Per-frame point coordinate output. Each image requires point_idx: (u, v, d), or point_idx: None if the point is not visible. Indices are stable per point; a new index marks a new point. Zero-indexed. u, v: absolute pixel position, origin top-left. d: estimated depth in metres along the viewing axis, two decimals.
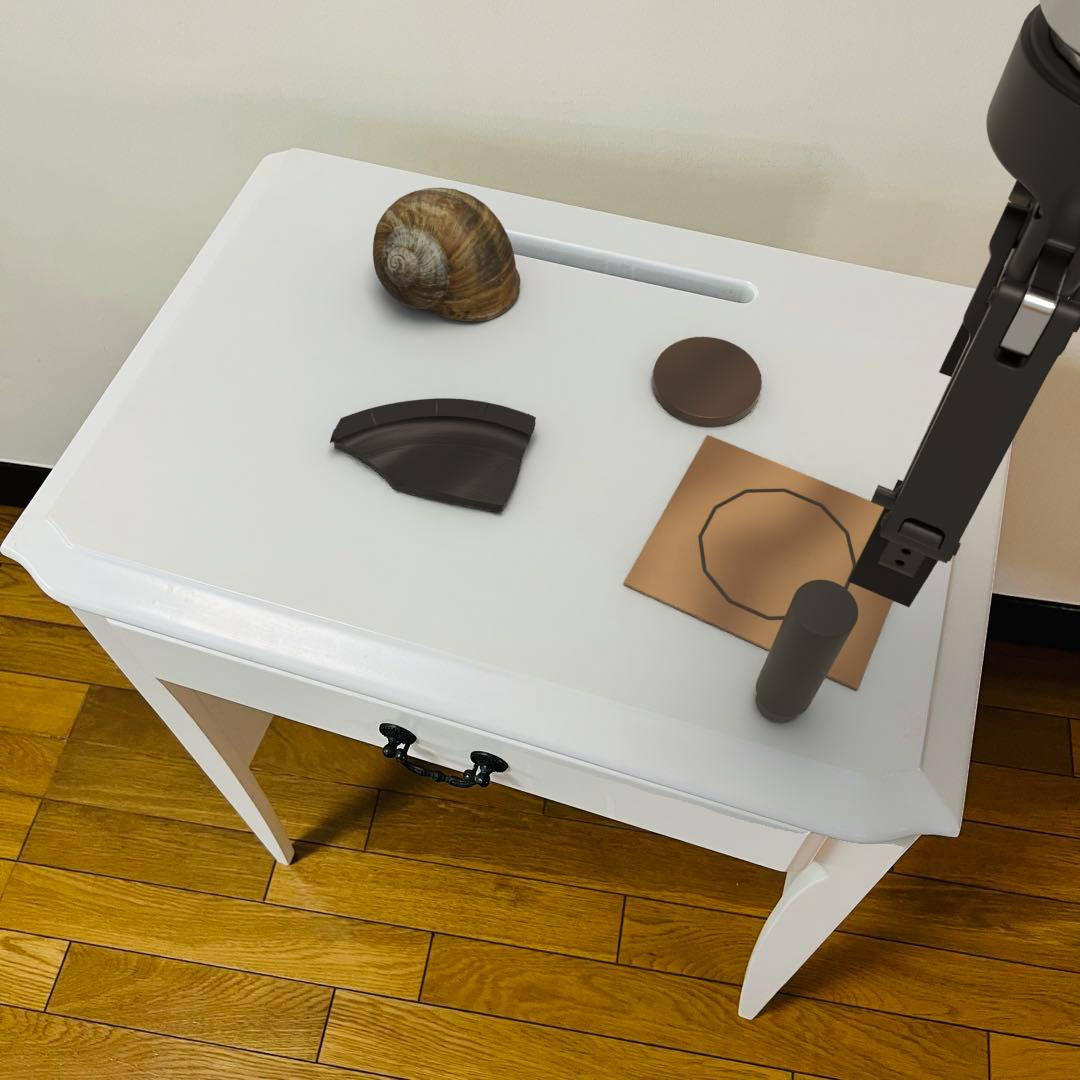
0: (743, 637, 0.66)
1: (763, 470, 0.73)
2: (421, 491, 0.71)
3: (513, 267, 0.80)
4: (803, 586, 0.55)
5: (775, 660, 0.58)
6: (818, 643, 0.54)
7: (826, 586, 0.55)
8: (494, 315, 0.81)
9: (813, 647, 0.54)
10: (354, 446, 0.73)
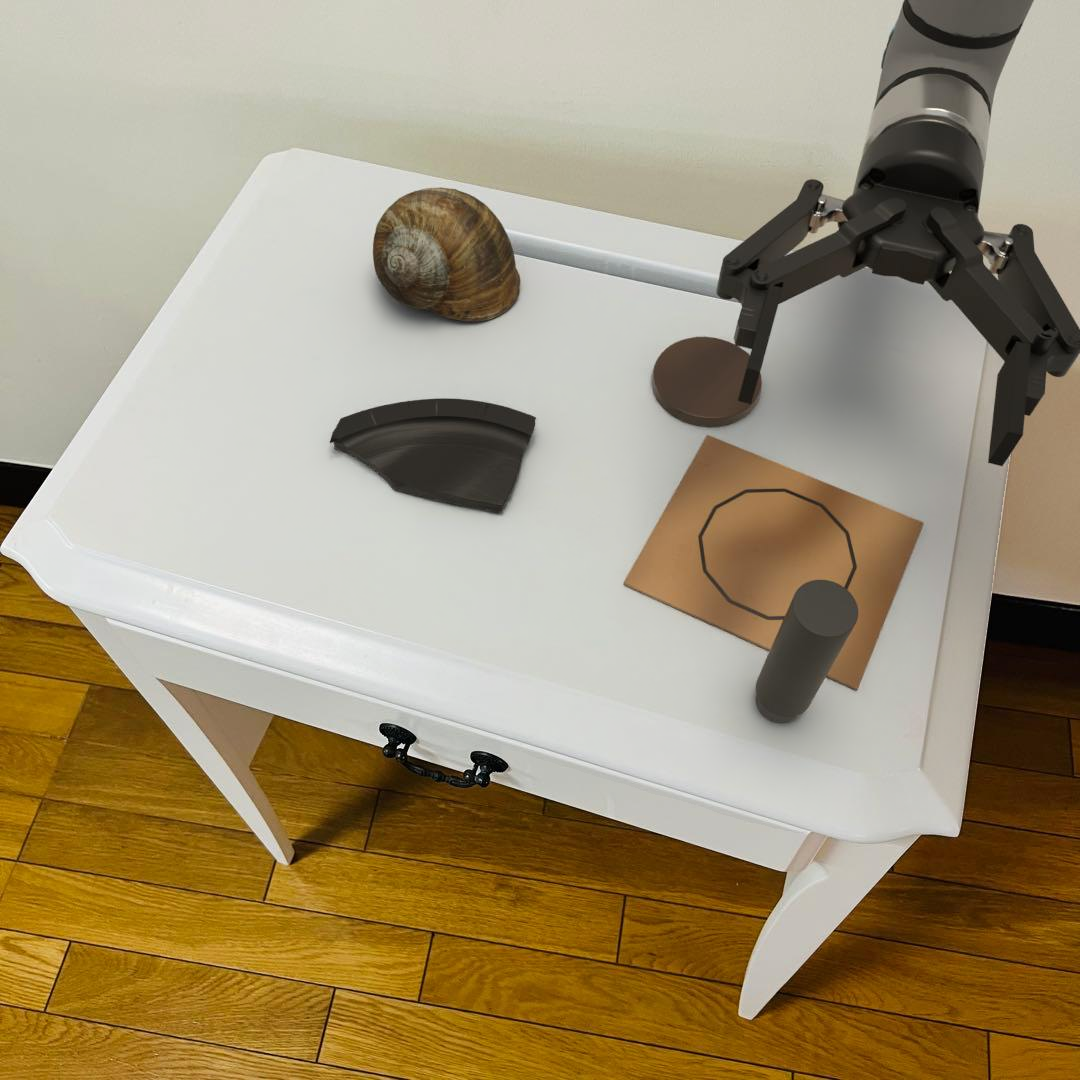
0: (743, 637, 0.66)
1: (763, 470, 0.73)
2: (421, 491, 0.71)
3: (513, 267, 0.80)
4: (803, 586, 0.55)
5: (775, 660, 0.58)
6: (818, 643, 0.54)
7: (826, 586, 0.55)
8: (494, 315, 0.81)
9: (813, 647, 0.54)
10: (354, 447, 0.73)
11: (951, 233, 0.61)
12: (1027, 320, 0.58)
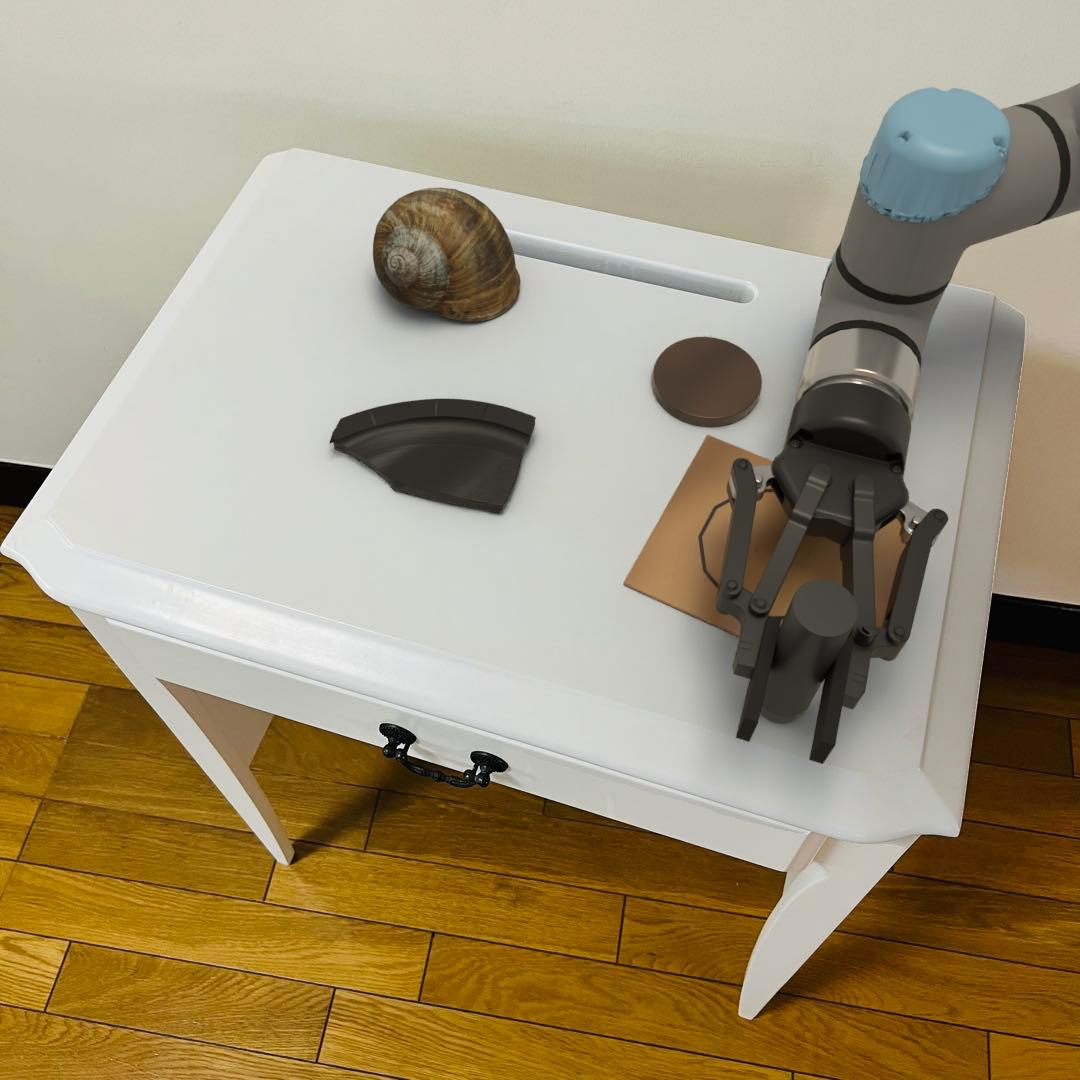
0: None
1: None
2: (421, 491, 0.71)
3: (513, 267, 0.80)
4: (803, 586, 0.55)
5: (775, 660, 0.58)
6: (818, 643, 0.54)
7: (826, 586, 0.55)
8: (494, 315, 0.81)
9: (813, 647, 0.54)
10: (354, 447, 0.73)
11: (861, 502, 0.62)
12: (868, 610, 0.59)
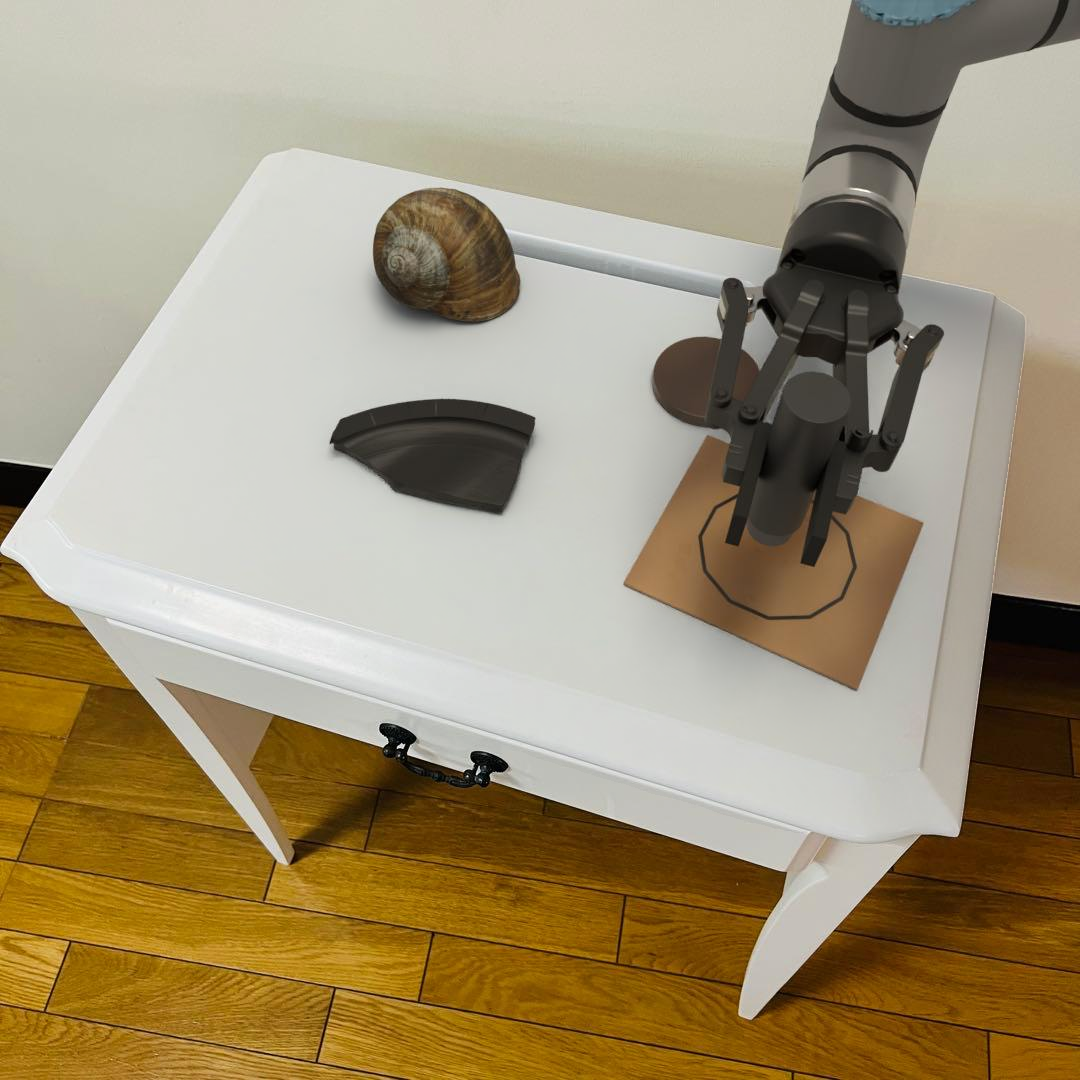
0: (743, 637, 0.66)
1: None
2: (421, 492, 0.71)
3: (513, 267, 0.80)
4: (794, 377, 0.53)
5: (766, 465, 0.56)
6: (809, 433, 0.52)
7: (818, 377, 0.53)
8: (494, 316, 0.81)
9: (804, 438, 0.53)
10: (353, 447, 0.73)
11: (855, 317, 0.61)
12: (862, 416, 0.57)
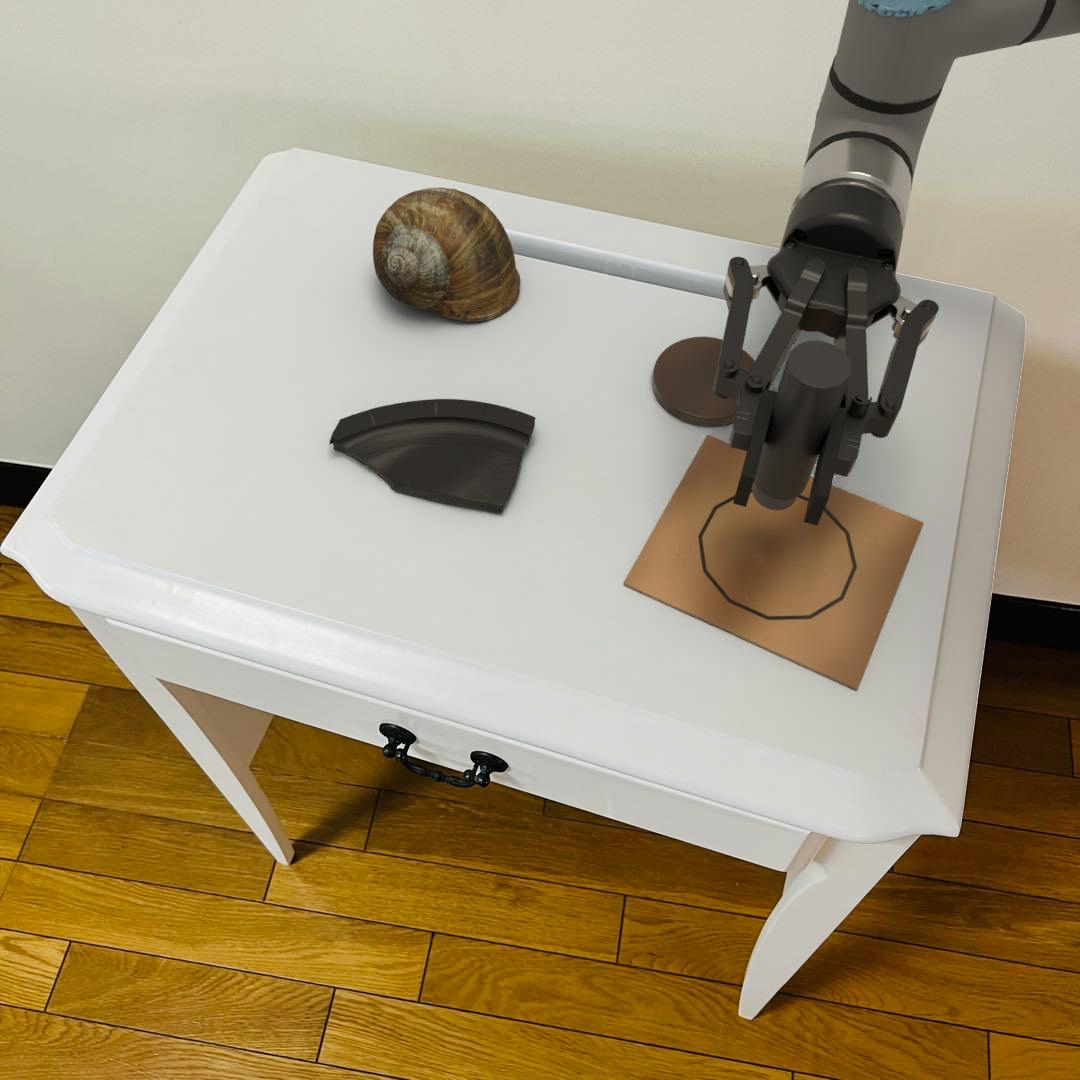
0: (743, 637, 0.66)
1: None
2: (421, 492, 0.71)
3: (513, 267, 0.80)
4: (798, 346, 0.57)
5: (771, 431, 0.60)
6: (812, 398, 0.56)
7: (820, 346, 0.57)
8: (494, 315, 0.81)
9: (807, 403, 0.56)
10: (353, 448, 0.73)
11: (854, 292, 0.64)
12: (861, 385, 0.61)
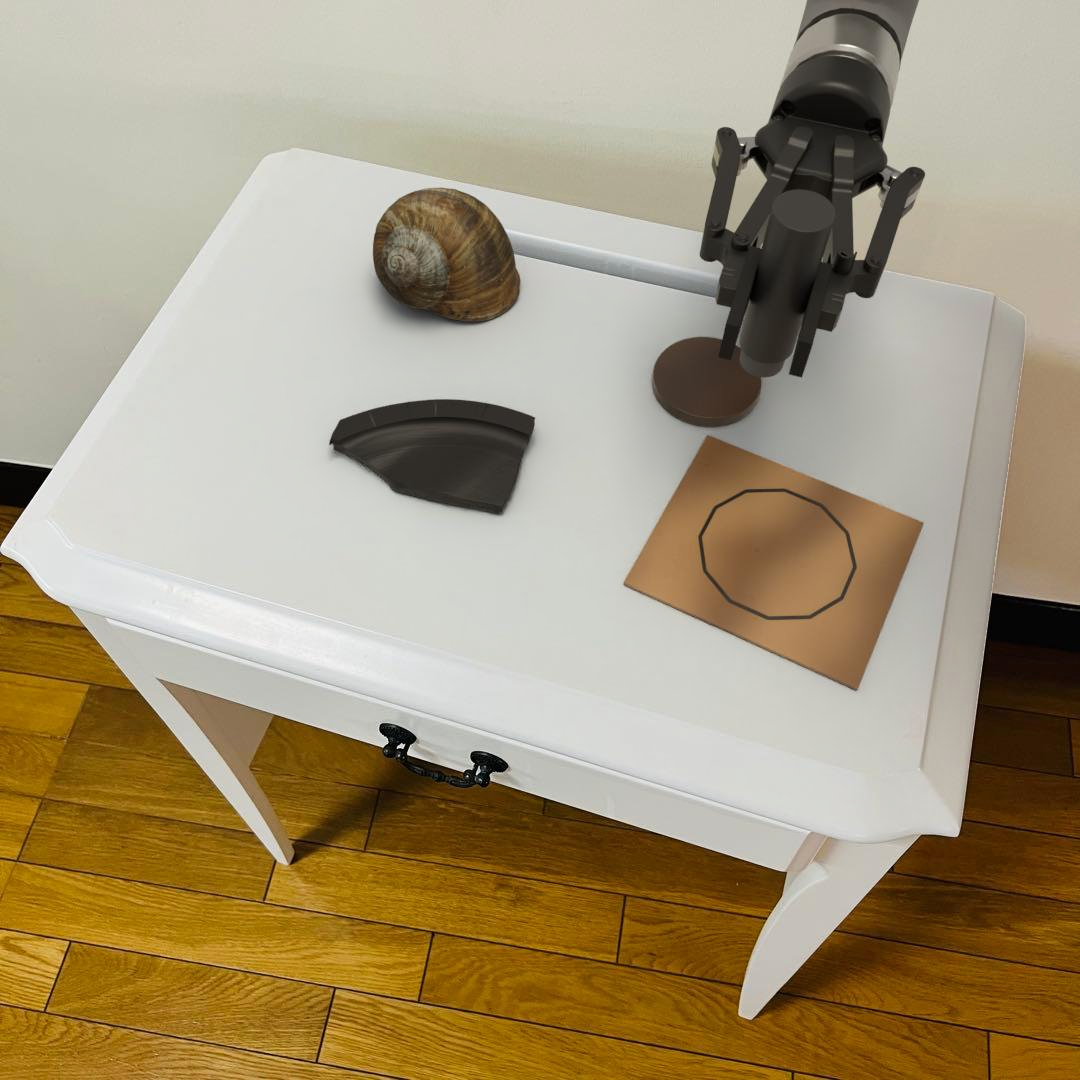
0: (743, 637, 0.66)
1: (763, 470, 0.73)
2: (421, 492, 0.71)
3: (513, 267, 0.80)
4: (782, 194, 0.57)
5: (757, 287, 0.60)
6: (796, 243, 0.56)
7: (805, 194, 0.57)
8: (494, 315, 0.81)
9: (792, 250, 0.56)
10: (353, 448, 0.73)
11: (841, 158, 0.64)
12: (847, 243, 0.61)
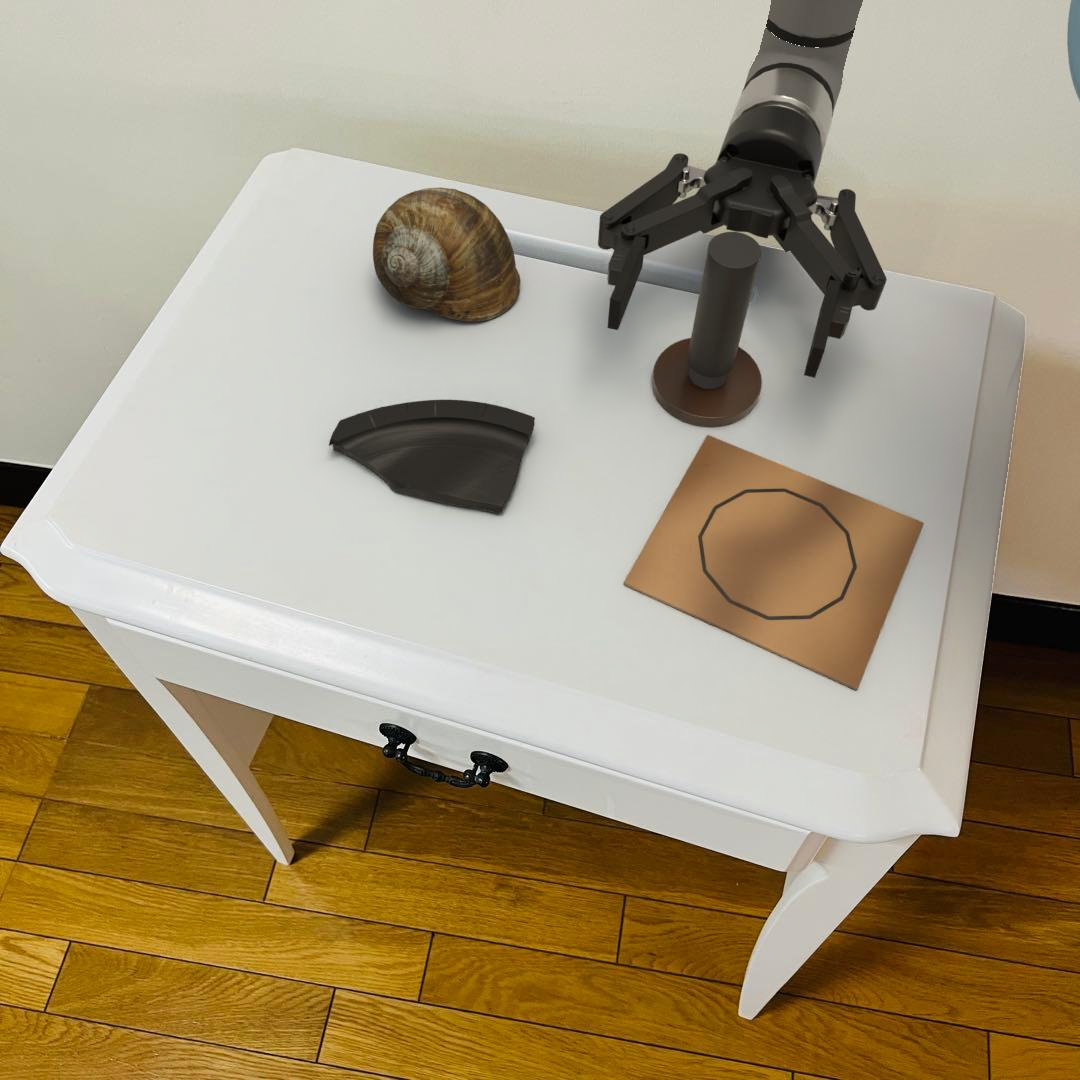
0: (743, 637, 0.66)
1: (763, 470, 0.73)
2: (422, 492, 0.71)
3: (513, 267, 0.80)
4: (717, 236, 0.68)
5: (699, 313, 0.71)
6: (728, 277, 0.67)
7: (736, 236, 0.68)
8: (494, 315, 0.81)
9: (725, 282, 0.67)
10: (353, 449, 0.73)
11: (787, 195, 0.75)
12: (841, 263, 0.72)
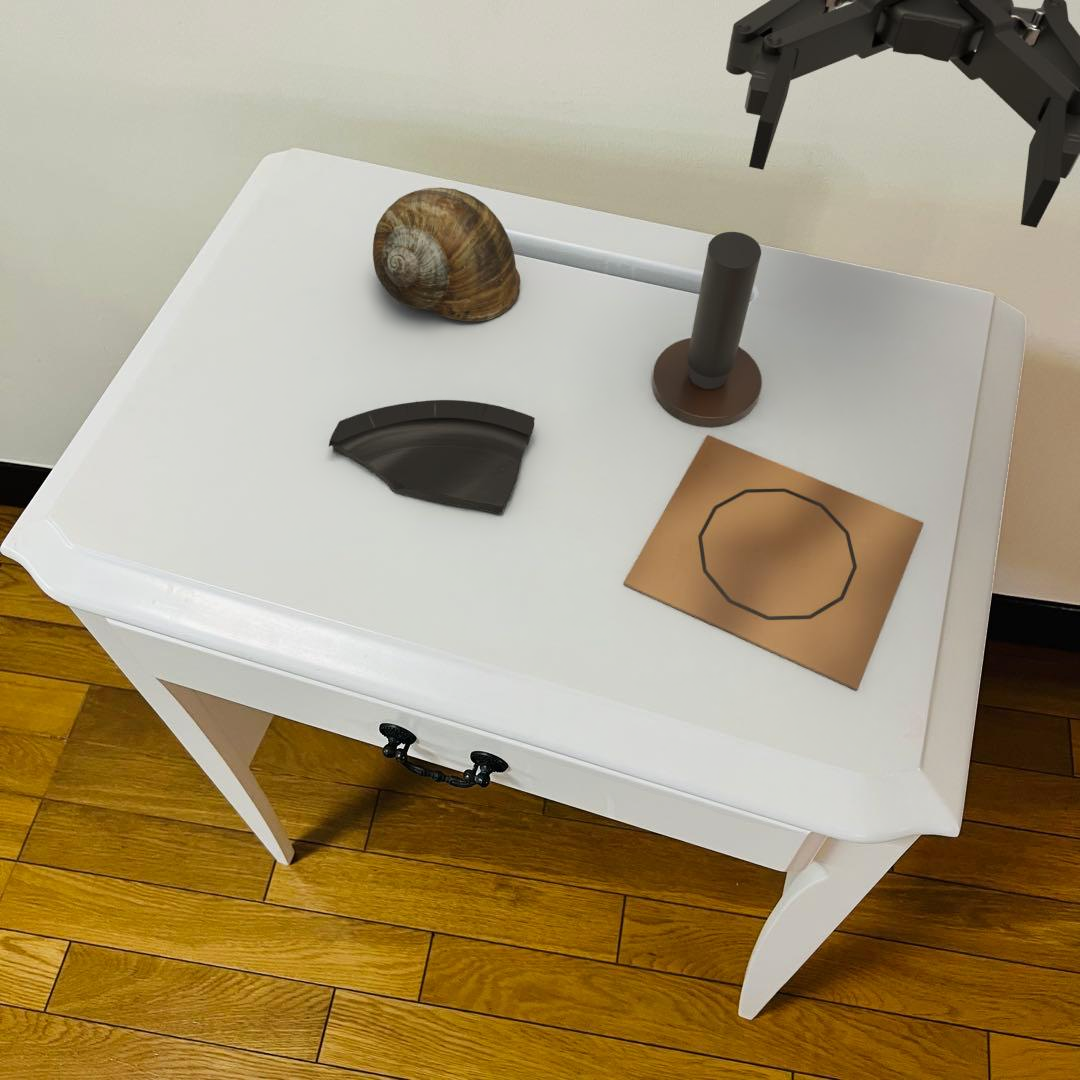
0: (743, 637, 0.66)
1: (763, 470, 0.73)
2: (422, 493, 0.71)
3: (513, 267, 0.80)
4: (717, 236, 0.68)
5: (699, 313, 0.71)
6: (728, 277, 0.67)
7: (736, 236, 0.68)
8: (494, 315, 0.81)
9: (725, 282, 0.67)
10: (353, 450, 0.73)
11: (979, 0, 0.56)
12: (1062, 80, 0.53)
